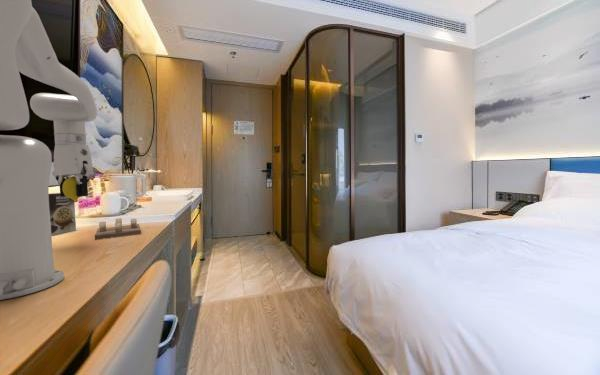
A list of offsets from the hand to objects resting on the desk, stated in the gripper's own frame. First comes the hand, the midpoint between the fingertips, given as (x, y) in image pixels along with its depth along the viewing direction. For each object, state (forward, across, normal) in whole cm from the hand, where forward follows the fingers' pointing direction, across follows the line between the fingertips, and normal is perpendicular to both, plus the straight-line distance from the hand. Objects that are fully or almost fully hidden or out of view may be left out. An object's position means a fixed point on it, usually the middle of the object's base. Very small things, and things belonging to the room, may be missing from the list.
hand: (74, 195), depth 83 cm
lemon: (+2, 0, 0) cm, 2 cm away
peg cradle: (+16, +1, -17) cm, 23 cm away
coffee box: (+16, +27, -14) cm, 34 cm away
